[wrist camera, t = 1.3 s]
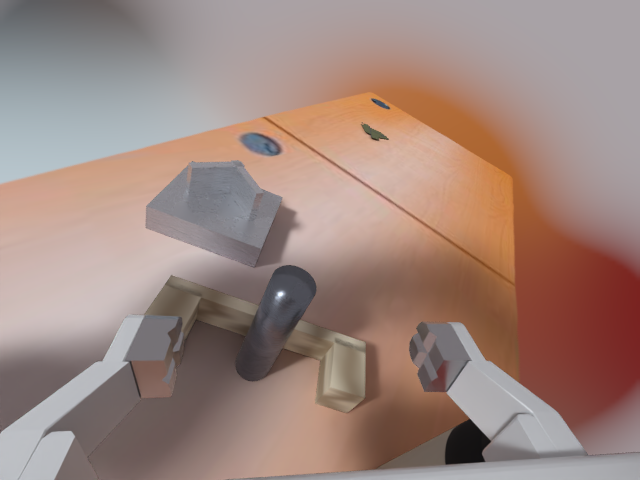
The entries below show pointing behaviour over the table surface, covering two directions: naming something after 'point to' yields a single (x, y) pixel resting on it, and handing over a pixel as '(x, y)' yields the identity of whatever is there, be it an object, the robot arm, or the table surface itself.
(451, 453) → the travel mug
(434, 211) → the table surface
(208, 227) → the v block
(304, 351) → the notched beam
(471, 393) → the robot arm
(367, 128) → the olive green flat piece
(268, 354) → the steel axle
